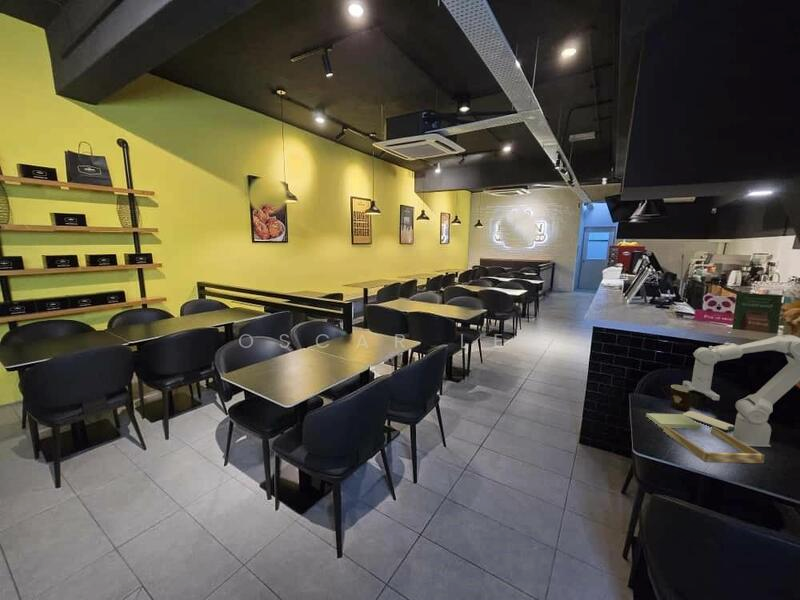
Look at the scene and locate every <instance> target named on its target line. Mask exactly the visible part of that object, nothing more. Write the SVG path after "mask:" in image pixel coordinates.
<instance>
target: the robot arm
mask: <svg viewBox="0 0 800 600" xmlns="http://www.w3.org/2000/svg"><path fill="white" fill-rule="evenodd" d="M765 351H776V352H780V353H783V354H784V355H785V357H786V360H787V364H786V365H785V366H784V367H782V369H781V370H779V371H778V372H777V373H776V374H775V375H774V376H773V377H772V378H771V379H769V380H768V381H767V382H766V383H765V384H764V385H763V386H761V388H760V389H759V390H758V391H756V393H753V394H749V395H747V396H746V397H744V398H742V399H739V400H737V401H736V402H735V404H734V405H735V409H736V410H737V414H736V417H735V423H734V426H735V428H734V430H733V433H727V434H728V435H730V436H732V437H734V438H735V439H737V440H739V441H741V442H742V443H744V444H746V445H748V446H749V447H758V448H759V447H764V448H768V447H769V448H771V446H772V445H771V444H770V438H771V433H772V428H771V425H770V424H769V423H768V420H769V417H770V414H771V413H773V412H774V411H773V409H774V408H773V406H774V404H775V403H776V402H778V400H780V399H781V398H782V397H783V396H784V395H785V394H787V392H789V391H790V390H791V389H792V388H793V387H794V386H796V384H797V383H800V337H798V336H797V335H793V334H784V335H776V336H772V337H770V338H766V339H759V340H755V341H752V342H748V343H743V344H737V343H733V342H732V343H731V342H724V344H720V345H715V346H712V345H709V346H708V347H702V346H701V347H699V348H697V349H695V351H694V352H693V353H692V354H693V356H694V358H695V359H694V360H695V361H694V365H693V371H692V378H691V381H689V380H683V381H682V386H686V387H689V389H691V390H689V391H688V393H689V394H690V396H691V399H692V403H691V404H692V409H694V410H697V411H702V409H703V407H704V405H705V404H706V402H707V401H709V399H711V400H713V401H720V397H721V396H720V395H719V394H717V393H716V392H714V391H713V390H712V389H711V387H712V382H713V381H712V380H713V374H714V367H715V364H717V363H718V362H722V361H727V360H734V359H739V358H741V357H742V356H743V355H744V354H750V353H758V352H765Z"/></svg>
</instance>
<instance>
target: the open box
mask: <svg viewBox="0 0 800 600" xmlns="http://www.w3.org/2000/svg"><path fill="white" fill-rule="evenodd" d="M662 432H663V433H664V432H665V433H666V434H665V433H664V434H665V435H667V436H668V435H669V436H670V437H669V436H668V437H669V438H671V439H672V438H673V439H672V440H674V441H675V442H676V441H677V442H676V443H678V444H679V443H680V445H681V446H682V445H683V446H682V447H684V448H685V449H686V448H687V449H686V450H688V451H689V450H690V451H689V452H690V453H692V452H693V453H694V454H693V453H692V454H693V455H695V456H696V457H698V458H699V459H700V458H701V459H700V460H701V461H703V460H704V461H703V462H705V461H706V462H705V463H734V464H735V463H740V464H745V463H746V464H764V462H765V459H766V458H765V457H766V454H764V453H761V452H759V451H757V450H756V449H754V448H753V447H752V446H748V445H746V444H744V443H742V442H741V441H739V440H737V439H735V438H734V437H732V436H730V435H728V434H729V433H725V432H723V431H721V430H720V429H718V428H716V427H712V428H710V434H711V435H713V436H714V437H716V438H718V439H720V440H721V441H723V442H724V443H726V444H728V445H729V446H731V447H733V448H734V449H736V450H738V451H740V452H714V451H713V452H711V451H710V452H708V451H706V450H704V449H702V448H701V447H700V446H698V445H696V444H695V443H694V442H692V441H691V440H689V439H688V438H686V437H685V436H683V435H681V434H680V433H679V432H677V431H676V430H675V429H671V428H670V427H668V426H667V425H664V428H663V431H662Z"/></svg>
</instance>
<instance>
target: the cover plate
mask: <svg viewBox="0 0 800 600" xmlns="http://www.w3.org/2000/svg"><path fill="white" fill-rule="evenodd" d="M646 417H648V418H649V419H650V420H652V421H653V422H654V423H655V424H654V423H653V422H652V423H653V424H654V425H656V424H657V425H658V426H657V425H656V426H657V427H659V428H660V427H661V428H660V429H664V425H667V426H668V427H670V428H687V429H686V430H700V429H702V424H700V423H697V422H695V421H694V420H692V419H690V418H689V417H687V416H685V415H684V414H682V413H679V414H678V413H654V412H653V413H648V412H646V413H645V418H646ZM649 419H648V420H649ZM650 420H649V421H650Z"/></svg>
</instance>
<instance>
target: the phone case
mask: <svg viewBox="0 0 800 600" xmlns="http://www.w3.org/2000/svg"><path fill="white" fill-rule="evenodd" d="M681 414H684V415H685V416H687V417H689V418H690V419H692V420H694V421H696V422H698V423H699V424H700V423H701V424H700V425H703V424H704V425H703V426H705V425H707V426H706V427H708V426H709V427H708V428H711V427H716V428H718V429H720V430H721V431H723V432H725V433H727V434H730V433H731V432H734V428H735V424H731V423H729V422H725V421H722V420H720V419H717V418H713V417H710V416H707V415H704V414H702V413H699V412H697V411H693V410H689V411H687V412H681Z"/></svg>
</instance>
